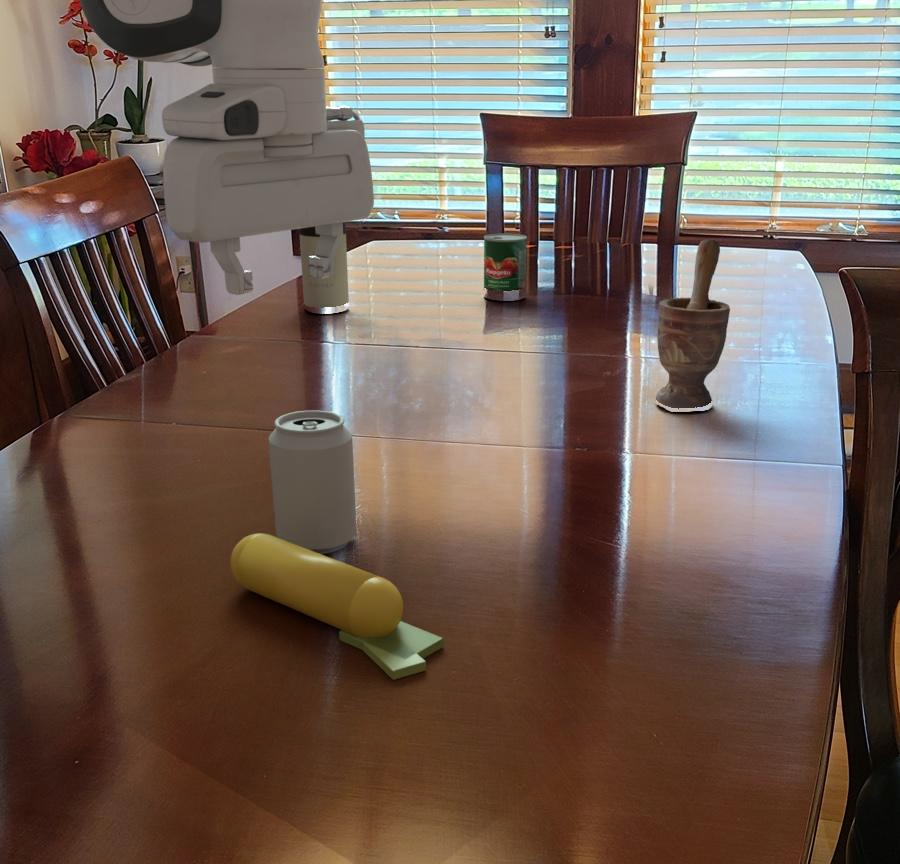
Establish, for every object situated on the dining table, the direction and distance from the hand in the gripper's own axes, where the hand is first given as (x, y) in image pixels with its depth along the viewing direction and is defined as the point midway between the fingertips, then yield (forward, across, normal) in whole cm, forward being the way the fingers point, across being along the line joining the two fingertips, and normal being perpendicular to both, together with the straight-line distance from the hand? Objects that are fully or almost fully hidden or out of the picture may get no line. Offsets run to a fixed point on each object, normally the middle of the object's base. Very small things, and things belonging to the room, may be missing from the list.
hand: (282, 284), depth 93 cm
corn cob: (+23, +11, +16) cm, 30 cm away
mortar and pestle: (+23, -62, +7) cm, 66 cm away
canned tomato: (+23, -100, -52) cm, 115 cm away
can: (+23, 0, +3) cm, 24 cm away
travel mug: (+24, -71, -70) cm, 103 cm away
